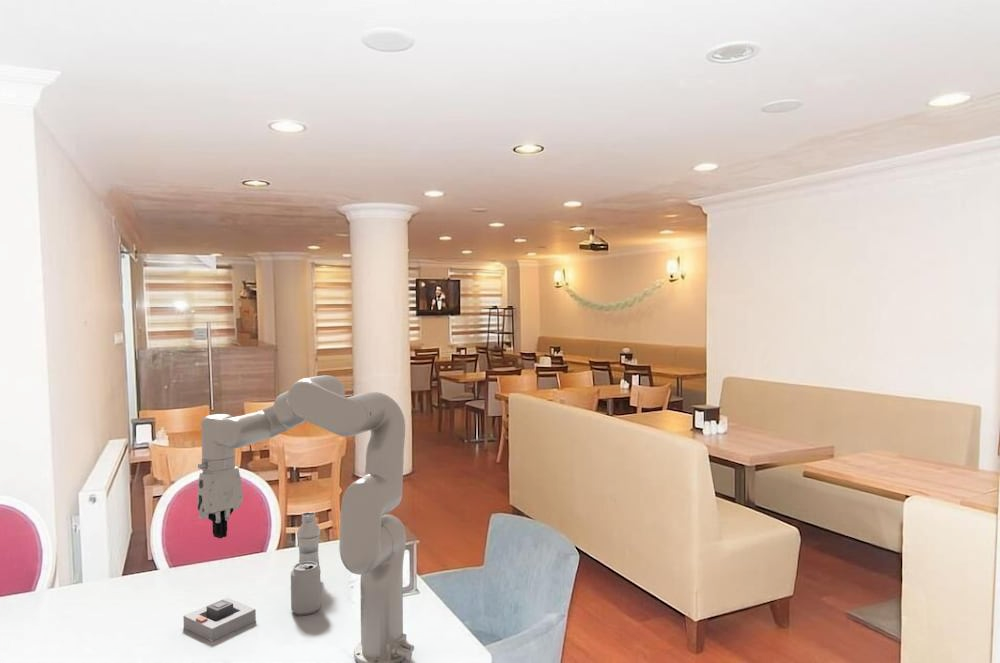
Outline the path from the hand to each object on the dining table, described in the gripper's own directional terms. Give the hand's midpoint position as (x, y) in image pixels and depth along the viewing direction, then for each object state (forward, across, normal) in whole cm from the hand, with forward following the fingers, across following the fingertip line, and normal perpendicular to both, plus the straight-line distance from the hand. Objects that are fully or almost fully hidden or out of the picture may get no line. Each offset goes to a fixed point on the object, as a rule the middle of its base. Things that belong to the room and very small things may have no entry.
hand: (220, 536), depth 160 cm
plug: (+22, 0, 0) cm, 22 cm away
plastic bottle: (+22, +28, +1) cm, 36 cm away
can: (+22, +16, -12) cm, 30 cm away
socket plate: (+22, 0, 0) cm, 22 cm away
